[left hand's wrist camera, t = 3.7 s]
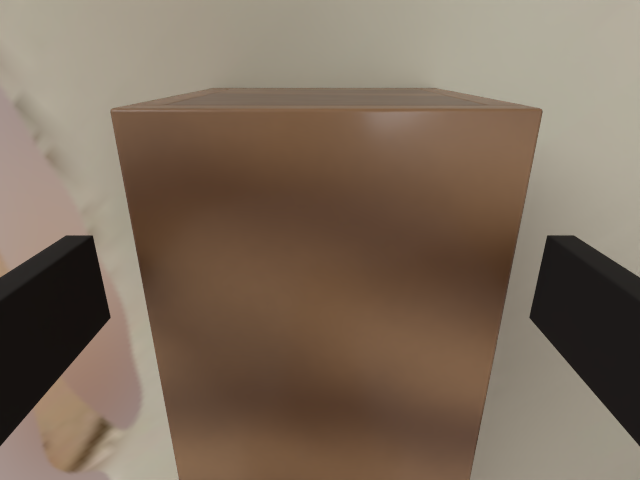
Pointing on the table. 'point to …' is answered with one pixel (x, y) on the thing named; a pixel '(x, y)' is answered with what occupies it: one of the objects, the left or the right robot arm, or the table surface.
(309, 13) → the table surface
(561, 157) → the table surface
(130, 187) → the cabinet
